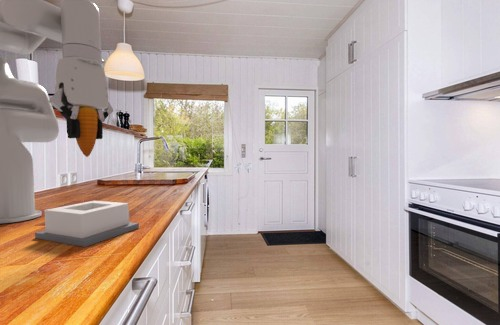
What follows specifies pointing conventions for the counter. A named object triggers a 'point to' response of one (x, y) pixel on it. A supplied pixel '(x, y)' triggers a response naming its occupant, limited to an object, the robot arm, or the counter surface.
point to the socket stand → (86, 223)
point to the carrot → (87, 129)
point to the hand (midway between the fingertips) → (85, 137)
